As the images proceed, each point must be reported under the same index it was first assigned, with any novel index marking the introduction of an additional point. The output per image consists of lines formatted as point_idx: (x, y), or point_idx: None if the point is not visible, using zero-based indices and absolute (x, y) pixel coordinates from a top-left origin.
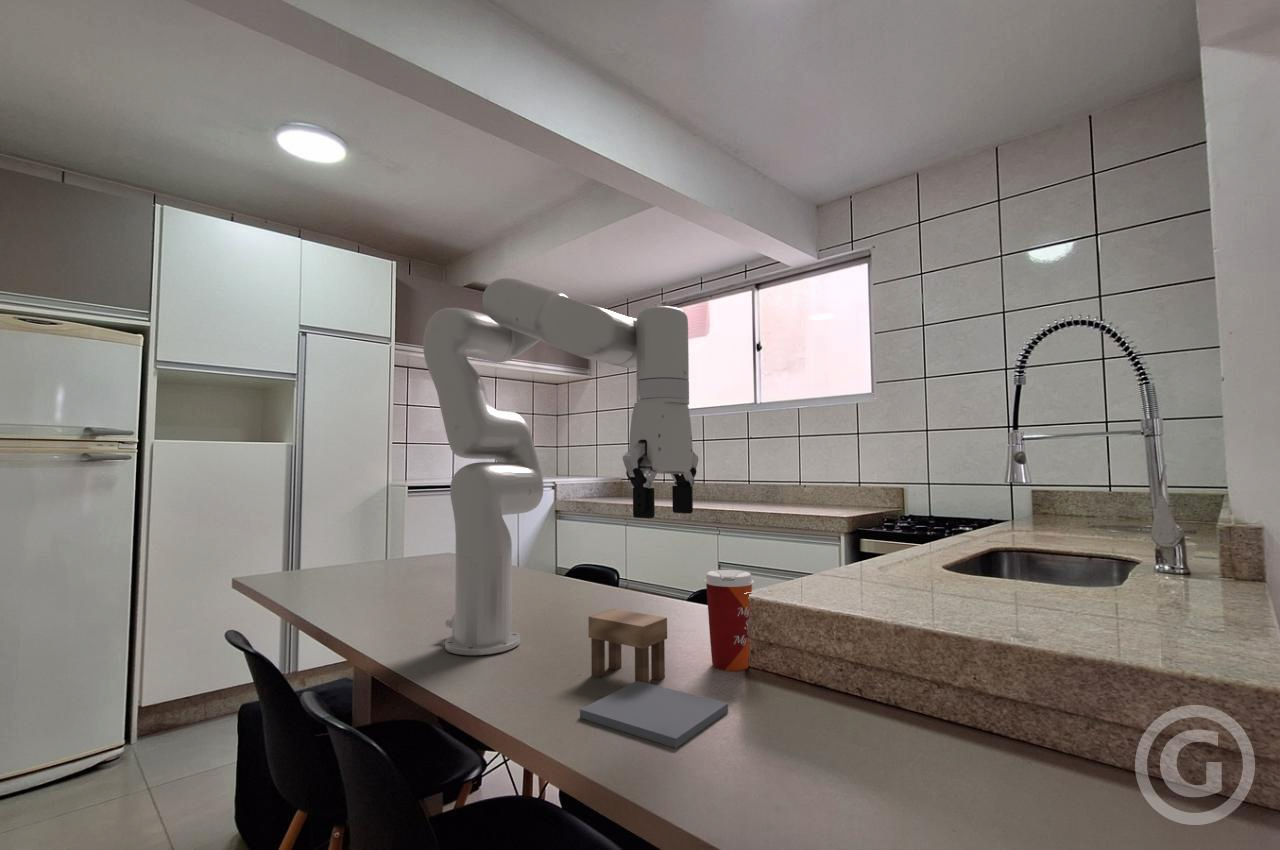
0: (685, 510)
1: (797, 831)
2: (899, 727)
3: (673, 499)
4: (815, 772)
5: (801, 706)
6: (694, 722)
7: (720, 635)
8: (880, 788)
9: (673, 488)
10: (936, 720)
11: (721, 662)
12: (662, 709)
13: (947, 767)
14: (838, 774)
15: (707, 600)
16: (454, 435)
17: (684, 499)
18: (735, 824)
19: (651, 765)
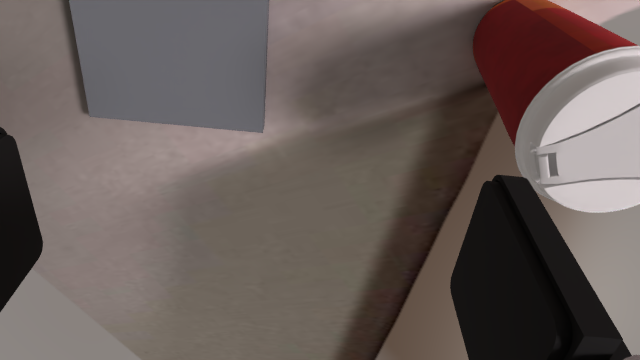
0: (461, 270)
1: (47, 269)
2: (337, 309)
3: (513, 246)
4: (163, 261)
5: (347, 209)
6: (158, 116)
7: (489, 65)
8: (174, 309)
9: (549, 327)
10: (380, 335)
11: (477, 40)
12: (166, 45)
13: (259, 346)
14: (175, 278)
15: (561, 44)
16: None
17: (483, 326)
18: None
19: (29, 102)
